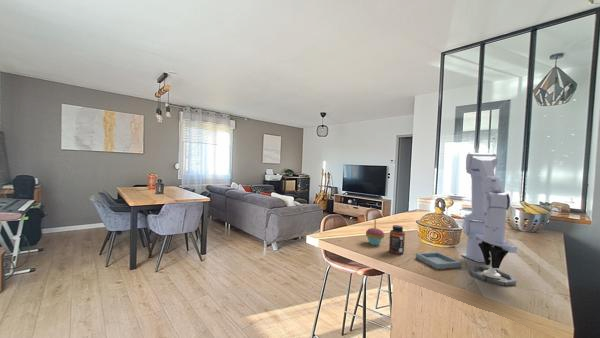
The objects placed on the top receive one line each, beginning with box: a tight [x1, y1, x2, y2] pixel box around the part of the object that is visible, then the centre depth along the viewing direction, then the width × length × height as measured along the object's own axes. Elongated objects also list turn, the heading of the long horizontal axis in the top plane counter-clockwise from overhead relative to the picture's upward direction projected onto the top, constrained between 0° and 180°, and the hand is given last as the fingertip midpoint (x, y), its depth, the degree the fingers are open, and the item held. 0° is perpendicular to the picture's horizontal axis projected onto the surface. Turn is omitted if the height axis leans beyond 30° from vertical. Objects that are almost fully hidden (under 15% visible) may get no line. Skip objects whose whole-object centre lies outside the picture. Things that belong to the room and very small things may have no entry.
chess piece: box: [482, 246, 502, 279], centre depth 85 cm, size 5×5×10 cm
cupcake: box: [365, 218, 385, 246], centre depth 117 cm, size 9×8×12 cm
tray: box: [415, 251, 463, 270], centre depth 96 cm, size 11×11×2 cm
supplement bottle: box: [388, 224, 406, 255], centre depth 106 cm, size 6×6×11 cm
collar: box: [469, 265, 517, 287], centre depth 85 cm, size 12×12×1 cm
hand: (492, 266), depth 85 cm, fingers closed on chess piece
